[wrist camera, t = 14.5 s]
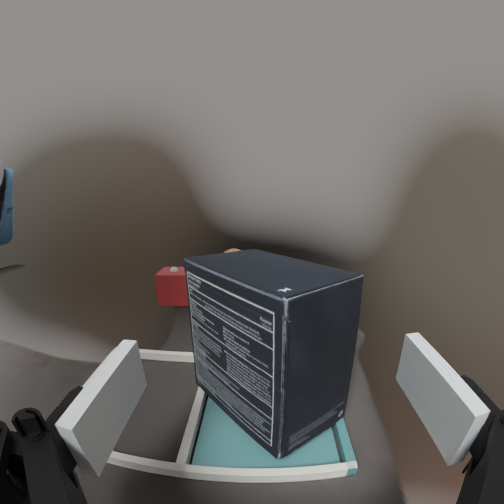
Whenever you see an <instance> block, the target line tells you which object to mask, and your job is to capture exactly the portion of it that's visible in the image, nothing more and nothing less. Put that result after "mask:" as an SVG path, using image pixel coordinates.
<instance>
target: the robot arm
mask: <svg viewBox="0 0 504 504" xmlns="http://www.w3.org/2000/svg"><path fill="white" fill-rule="evenodd" d="M13 185H14V171H13V170H12V169H8V168H4V169H3V164H2V161H1V159H0V245H4V244H8V243H9V242H10V241H11V240H12V238H13V235H14V228H13ZM396 380H397V382H398V383H399V385H400V386H401V388H402V390H403V391H404V393H405V395H406V396H407V398H408V399H409V401H410V403H411V404H412V406H413V407H414V409H415V411H416V412H417V414H418V416H419V417H420V419H421V421H422V422H423V424H424V426H425V427H426V429H427V431H428V432H429V434H430V436H431V437H432V439H433V441H434V443H435V444H436V446H437V448H438V449H439V451H440V453H441V455H442V456H443V458H444V460H445V462H446V463H447V465H448V466H450V465H453V464H456V463H458V462H461V461H463V459H464V458H465V456H466V455H467V453H468V451H470V453H471V455H472V457H471V459H470V461H469V462H468V464H467V465H466V467H465V468H464V470H463V472H462V473H464V472H465V471H466V470H467V471H466V476H465V479H464V482H463V485H462V488H461V491H460V494H459V497H458V500H457V503H456V504H504V410H501V411H500V409H499V408H498V407H497V406H496V405H495V404H494V403H493V402H492V401H491V400H490V398H489V397H488V396H487V395H486V394H485V393H483V391H482V390H481V388H479V386H478V385H477V384H476V383H475V382H474V381H473V380H472V379H470V378H468V377H466V376H464V375H463V376H459V375H458V374H457V373H456V372H455V370H454V369H453V368H452V367H451V366H450V365H449V364H448V363H447V362H446V361H445V360H444V359H443V358H442V357H441V355H440V354H439V353H438V352H436V350H435V349H434V348H433V347H432V346H431V345H430V344H429V343H428V342H427V341H426V340H425V339H424V338H423V337H422V336H421V335H420V334H419V333H418V332H417V333H410V334H406V335H405V339H404V345H403V350H402V354H401V358H400V363H399V368H398V372H397V375H396ZM146 386H147V382H146V378H145V374H144V370H143V366H142V361H141V357H140V352H139V348H138V343H137V341H135V340H123V341H122V342H121V343H120V344H119V345H118V347H117V348H116V349H115V350H114V351H113V352H112V354H111V355H110V356H109V357H108V359H107V360H106V361H105V362H104V363H103V365H102V366H101V367H100V368H99V369H98V371H97V372H96V373H95V374H94V376H93V377H92V378H91V379H90V380H89V382H88V383H87V384H86V385H85V387H80V386H78V387H77V388H75V389H73V390H72V391H70V392H69V393H68V394H67V396H66V397H65V398H64V400H62V402H61V403H60V404H59V406H57V408H56V409H55V410H54V411H53V412H52V414H51V415H50V416H49V417H48V419H47V420H46V421H44V419H43V417H42V415H41V413H40V411H38V410H37V409H34V408H24V409H21V410H19V411H18V412H16V413H15V415H14V416H13V417H12V423H13V425H14V427H15V428H16V430H17V432H14V431H10V430H9V429H8V427H7V425H6V424H5V423H4V422H3V421H0V504H87V502H86V499H85V497H84V494H83V491H82V489H81V486H80V483H79V481H78V478H77V475H76V473H75V472H74V468H75V466H76V465H78V466H79V468H80V469H81V471H82V472H83V473H85V474H89V475H92V476H95V477H98V478H99V477H100V475H101V473H102V471H103V469H104V467H105V465H106V463H107V461H108V459H109V457H110V455H111V453H112V451H113V449H114V447H115V445H116V443H117V441H118V439H119V437H120V435H121V434H122V432H123V430H124V428H125V426H126V424H127V422H128V420H129V418H130V416H131V415H132V413H133V411H134V409H135V407H136V405H137V403H138V401H139V400H140V398H141V396H142V394H143V392H144V390H145V388H146Z"/></svg>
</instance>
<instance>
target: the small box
mask: <svg viewBox="0 0 504 504" xmlns="http://www.w3.org/2000/svg"><path fill="white" fill-rule="evenodd" d="M184 270H185V276H186V285H187V294H188V302H189V316H190V326H191V335H192V345H193V355H194V365H195V375H196V383H197V384H198V385H199V387H200V388H201V389H202V390H203V391H204V392H205V393H206V394H207V395H208V396H209V397H210V398H211V399H212V400H213V401H214V402H215V403H216V404H217V405H218V406H219V407H220V408H221V409H222V410H223V411H224V412H225V413H226V414H227V415H228V416H229V417H230V418H231V419H232V420H233V421H234V422H235V423H236V424H237V425H238V426H239V427H240V428H242V429H243V430H244V431H245V432H246V433H247V434H248V435H249V436H250V437H252V438H253V439H254V440H255V441H256V442H257V443H258V444H259V445H261V446H262V447H263V448H264V449H265V450H266V451H268V452H269V453H270V454H271V455H272V456H274V457H275V458H276V459H282V458H284V457H285V456H288V455H289V454H291V453H292V452H293V451H294V450H296V449H298V448H300V447H301V446H302V445H304V444H305V443H307V442H308V441H310V440H311V439H313V438H314V437H316V436H318V435H319V434H321V433H322V432H323V431H325V430H326V429H329V428H330V427H331V426H333V425H334V424H335V423H336V422H338V421H339V420H340V419H341V418H342V417H344V412H345V407H346V402H347V396H348V391H349V385H350V379H351V373H352V367H353V360H354V354H355V346H356V340H357V333H358V324H359V316H360V305H361V294H362V284H363V275H362V274H359V273H355V272H350V271H345V270H341V269H337V268H333V267H329V266H324V265H320V264H316V263H312V262H307V261H303V260H299V259H294V258H290V257H286V256H282V255H277V254H273V253H269V252H265V251H260V250H256V249H250V250H243V251H235V252H227V253H219V254H212V255H204V256H197V257H188V258H185V259H184Z"/></svg>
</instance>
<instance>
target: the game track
mask: <svg viewBox="0 0 504 504" xmlns="http://www.w3.org/2000/svg"><path fill="white" fill-rule="evenodd" d="M116 348H117V347H115V348H114V349H113V350H112V351H111V352H110V354H109V355H108V356H107V357H106V358H105V359H104V361H103V362H102V363H101V364H100V365H99V367H98V368H97V369H96V370H95V371H94V373H93V374H92V375H91V376H90V377H89V379H88V380H87V381H86V382H85V383H84V385H83V386H82V387H85V385H86V384H87V383H88V382H89V380H90V379H91V378H92V377H93V376H94V374H95V373H96V372H97V371H98V369H99V368H100V367H101V366H102V365H103V363H104V362H105V361H106V360H107V359H108V357H109V356H110V355H111V354H112V352H113V351H114V350H115V349H116ZM139 352H140V357H141V359H149V360H161V361H174V362H191V363H194V355H193V352H175V351H160V350H147V349H139ZM206 397H207V394H206V393H205V392H204V391H203V390H202V389H201V388H200V387H198V391H197V394H196V397H195V400H194V404H193V407H192V410H191V413H190V417H189V420H188V423H187V427H186V430H185V433H184V436H183V440H182V443H181V446H180V450H179V453H178V456H177V460H176V463H173V462H166V461H160V460H154V459H148V458H143V457H138V456H133V455H128V454H123V453H119V452H115V451H112V453H111V455H110V457H109V459H108V461H107V463H110V464H114V465H118V466H122V467H126V468H130V469H135V470H139V471H144V472H149V473H155V474H161V475H167V476H173V477H180V478H188V479H197V480H207V481H221V482H242V483H275V482H297V481H310V480H320V479H329V478H337V477H344V476H351V475H356V472H357V469H358V465H357V462H356V459H355V455H354V452H353V449H352V445H351V442H350V439H349V435H348V432H347V429H346V426H345V422H344V419H343V417H342V418H341V419H340V420H339V421H338V422H336V423H335V424H334V425H333V427H334V431H335V435H336V439H337V443H338V447H339V451H340V455H341V459H342V463H340V460H339V456H338V451H337V447H336V443H335V439H334V435H333V431H332V427H330V428H329V429H326V430H325V431H323V432H322V433H321V434H319V435H318V436H316V437H314V438H313V439H311V440H310V441H308V442H307V443H305V444H304V445H302V446H301V447H300V448H298V449H296V450H294V451H293V452H292V453H291V454H289V455H288V456H285V457H284V458H282V459H276V458H275V457H274V456H272V455H271V454H270V453H269V452H268V451H266V450H265V449H264V448H263V447H262V446H261V445H259V444H258V443H257V442H256V441H255V440H254V439H253V438H252V437H250V436H249V435H248V434H247V433H246V432H245V431H244V430H243V429H242V428H240V427H239V426H238V425H237V424H236V423H235V422H234V421H233V420H232V419H231V418H230V417H229V416H228V415H227V414H226V413H225V412H224V411H223V410H222V409H221V408H220V407H219V406H218V405H217V404H216V403H215V402H214V401H213V400H212V399H211V398H210V397H209V396H208V400H207V404H206V408H205V412H204V416H203V420H202V424H201V428H200V432H199V436H198V440H197V444H196V448H195V452H194V456H193V460H192V464H191V465H189V463H190V459H191V455H192V451H193V448H194V444H195V440H196V436H197V432H198V428H199V424H200V420H201V416H202V412H203V408H204V405H205V401H206Z"/></svg>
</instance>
